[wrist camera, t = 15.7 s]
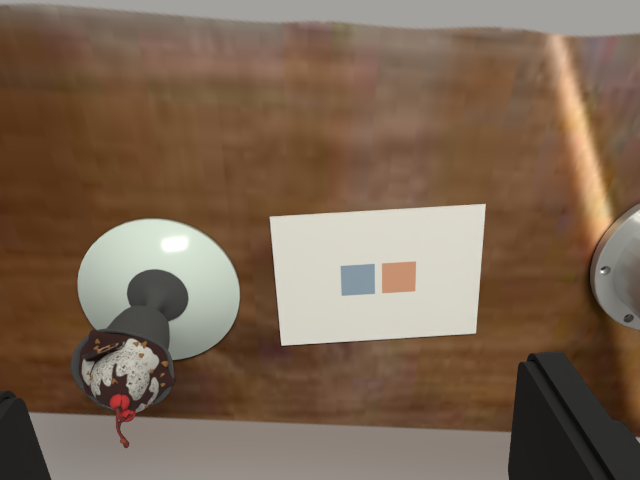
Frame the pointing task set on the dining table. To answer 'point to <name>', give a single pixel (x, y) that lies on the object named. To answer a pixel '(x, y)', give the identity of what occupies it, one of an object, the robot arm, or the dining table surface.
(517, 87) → the dining table surface
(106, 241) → the plate
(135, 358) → the sundae
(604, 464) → the robot arm
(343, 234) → the tile
